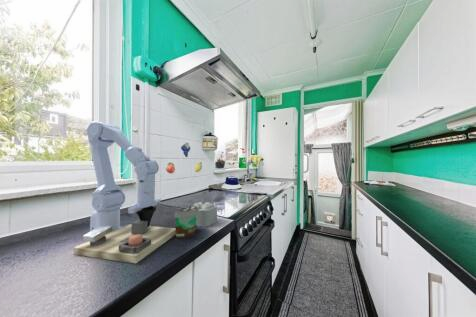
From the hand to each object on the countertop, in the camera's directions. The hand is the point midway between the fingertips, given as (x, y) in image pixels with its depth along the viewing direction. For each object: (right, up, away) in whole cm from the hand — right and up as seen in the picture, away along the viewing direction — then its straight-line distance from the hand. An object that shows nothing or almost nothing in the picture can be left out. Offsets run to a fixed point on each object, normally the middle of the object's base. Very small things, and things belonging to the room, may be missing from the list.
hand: (145, 227), depth 63 cm
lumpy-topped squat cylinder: (+18, -4, +15) cm, 24 cm away
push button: (+4, 0, -13) cm, 14 cm away
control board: (-1, -3, -6) cm, 7 cm away
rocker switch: (-9, +2, -10) cm, 14 cm away
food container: (+17, -3, +1) cm, 17 cm away
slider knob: (-1, -1, -3) cm, 3 cm away
